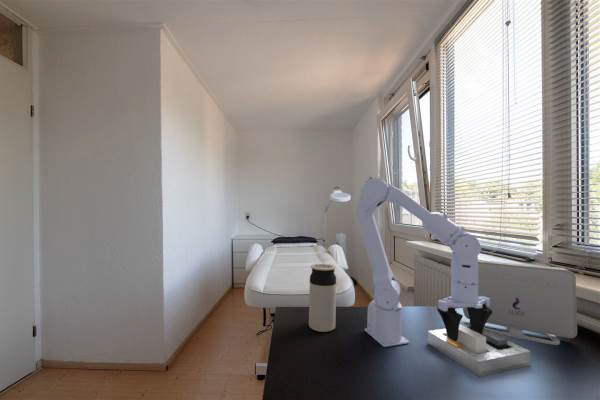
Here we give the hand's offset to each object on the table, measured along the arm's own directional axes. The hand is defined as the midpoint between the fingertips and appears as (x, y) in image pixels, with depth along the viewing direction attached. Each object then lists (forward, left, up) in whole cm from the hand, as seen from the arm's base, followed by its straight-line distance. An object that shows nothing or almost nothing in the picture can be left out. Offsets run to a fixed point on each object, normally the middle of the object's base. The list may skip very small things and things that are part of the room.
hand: (464, 337), depth 61 cm
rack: (0, +4, -4) cm, 6 cm away
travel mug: (-23, -28, -5) cm, 37 cm away
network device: (-6, +27, -5) cm, 28 cm away
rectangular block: (0, 0, -4) cm, 4 cm away
